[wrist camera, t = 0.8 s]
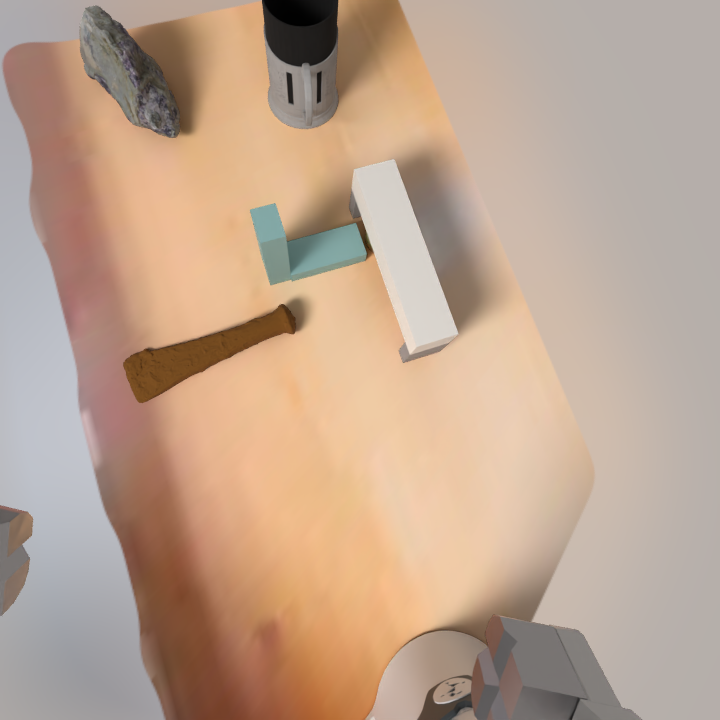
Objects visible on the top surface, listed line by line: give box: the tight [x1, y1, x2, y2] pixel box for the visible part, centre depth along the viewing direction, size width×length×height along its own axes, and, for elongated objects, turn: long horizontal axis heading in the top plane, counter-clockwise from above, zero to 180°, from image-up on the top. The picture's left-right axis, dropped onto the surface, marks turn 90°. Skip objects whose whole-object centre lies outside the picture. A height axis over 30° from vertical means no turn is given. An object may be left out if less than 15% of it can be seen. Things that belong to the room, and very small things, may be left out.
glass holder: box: [262, 0, 338, 129], centre depth 59 cm, size 9×14×15 cm, turn 6°
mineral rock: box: [80, 6, 180, 138], centre depth 60 cm, size 13×11×10 cm
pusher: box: [250, 203, 367, 285], centre depth 57 cm, size 4×12×12 cm, turn 108°
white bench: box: [349, 159, 458, 363], centre depth 59 cm, size 20×4×8 cm, turn 18°
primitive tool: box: [123, 304, 296, 403], centre depth 59 cm, size 19×6×4 cm, turn 116°
